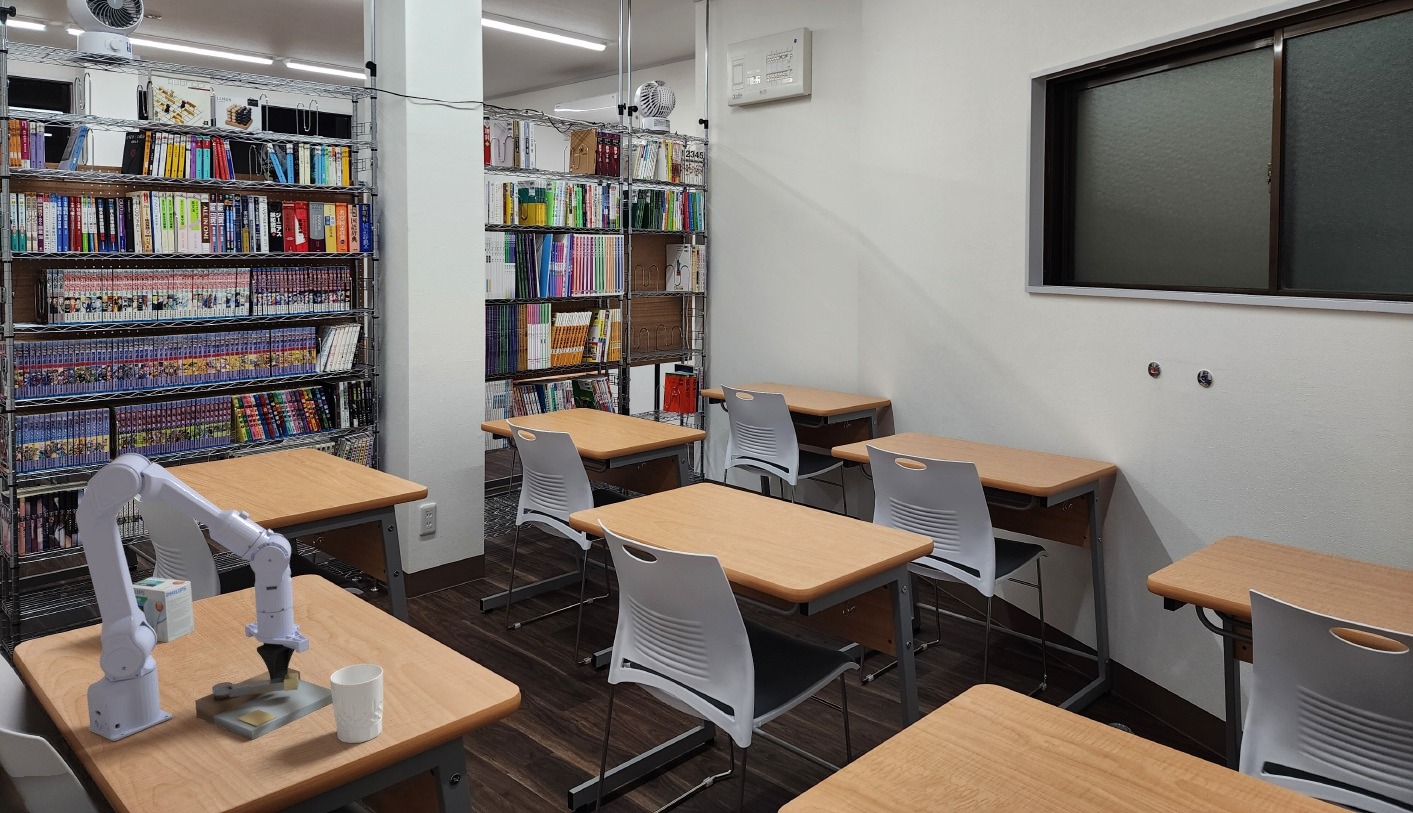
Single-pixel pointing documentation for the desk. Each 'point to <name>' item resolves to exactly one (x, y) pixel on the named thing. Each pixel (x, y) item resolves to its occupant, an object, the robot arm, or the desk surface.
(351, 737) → the white cup
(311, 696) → the door board
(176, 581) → the light bulb box
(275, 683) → the latch bar
